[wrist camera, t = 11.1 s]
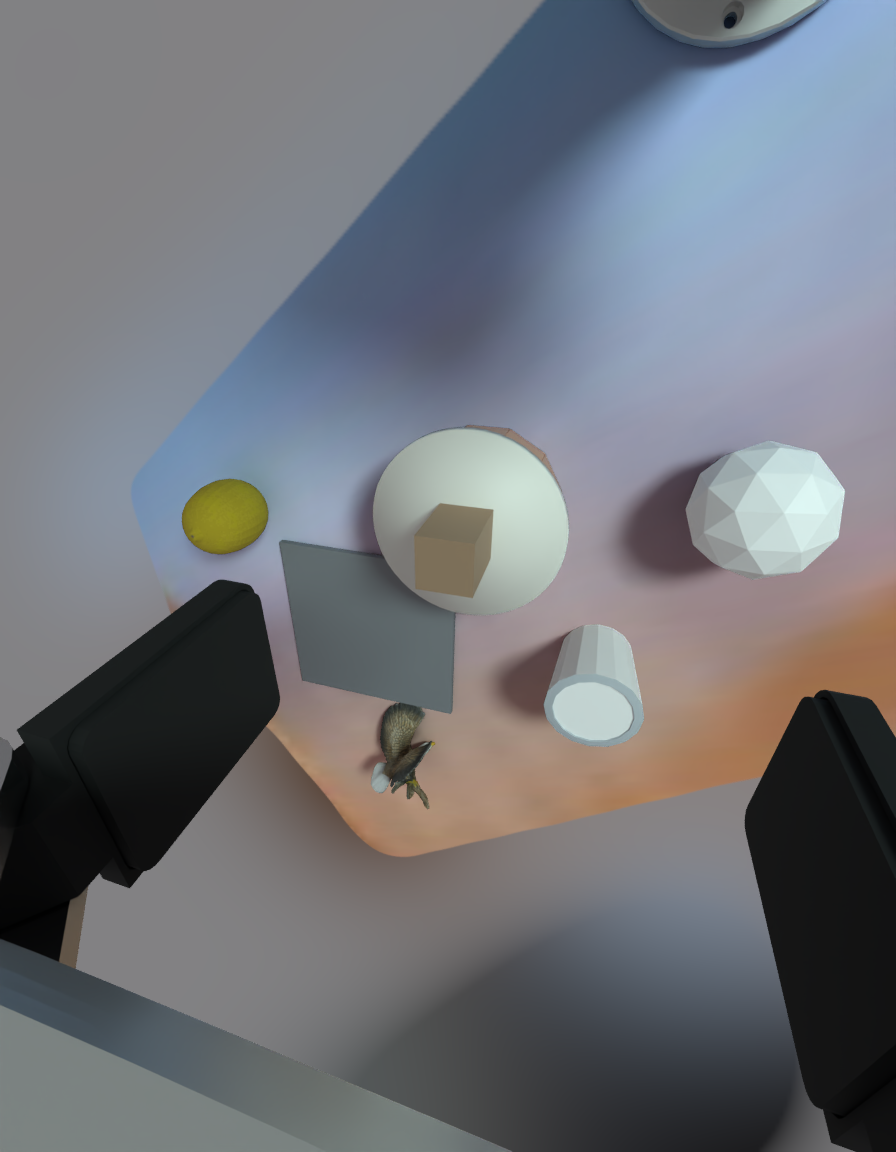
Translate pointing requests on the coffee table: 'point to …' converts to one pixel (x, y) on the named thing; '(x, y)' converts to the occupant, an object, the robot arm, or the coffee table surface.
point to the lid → (471, 521)
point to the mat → (367, 628)
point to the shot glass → (595, 688)
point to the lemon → (225, 516)
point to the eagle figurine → (400, 751)
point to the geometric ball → (765, 510)
